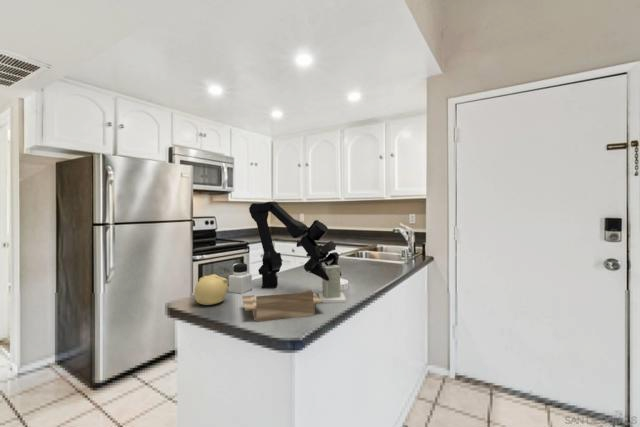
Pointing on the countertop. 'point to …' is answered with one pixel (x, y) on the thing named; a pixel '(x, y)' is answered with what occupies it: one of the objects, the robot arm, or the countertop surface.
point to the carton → (281, 305)
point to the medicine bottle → (240, 279)
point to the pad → (333, 299)
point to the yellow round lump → (211, 289)
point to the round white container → (342, 284)
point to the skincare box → (331, 281)
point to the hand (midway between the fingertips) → (334, 277)
